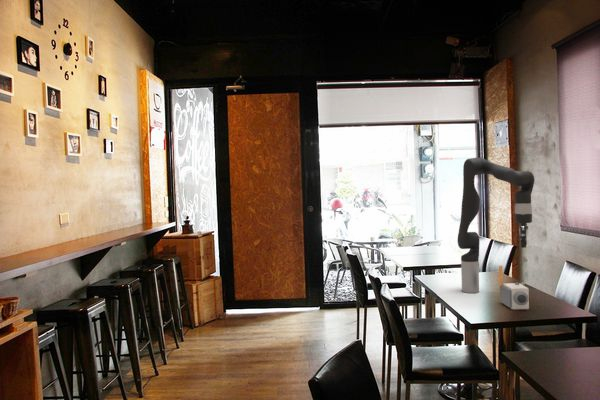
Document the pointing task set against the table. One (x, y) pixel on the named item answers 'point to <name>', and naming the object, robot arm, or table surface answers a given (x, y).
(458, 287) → the table surface
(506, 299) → the side door
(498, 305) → the table surface
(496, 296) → the table surface
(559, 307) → the table surface
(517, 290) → the camera body
